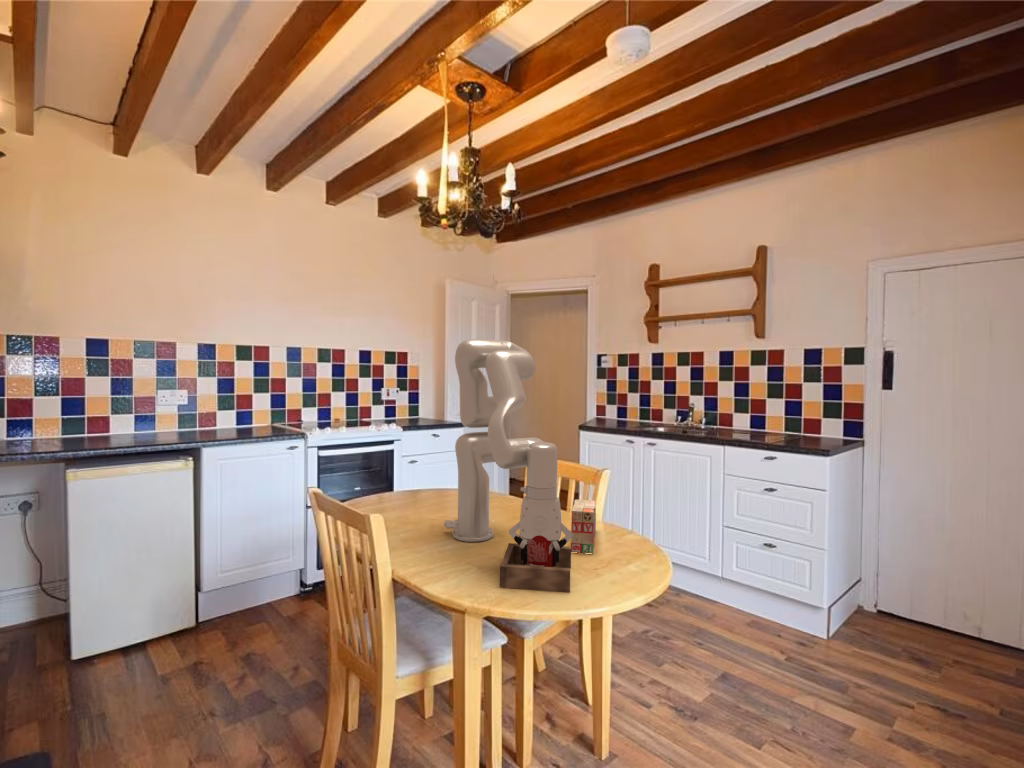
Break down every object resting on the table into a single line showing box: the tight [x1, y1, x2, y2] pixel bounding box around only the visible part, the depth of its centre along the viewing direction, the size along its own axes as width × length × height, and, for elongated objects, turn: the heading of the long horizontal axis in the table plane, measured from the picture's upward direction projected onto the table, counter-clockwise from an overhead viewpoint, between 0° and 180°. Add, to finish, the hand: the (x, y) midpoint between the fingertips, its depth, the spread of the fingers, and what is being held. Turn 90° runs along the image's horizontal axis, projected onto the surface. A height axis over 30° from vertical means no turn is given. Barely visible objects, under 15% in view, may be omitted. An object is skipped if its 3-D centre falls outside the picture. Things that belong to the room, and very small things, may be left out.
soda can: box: [526, 532, 554, 567], centre depth 128 cm, size 7×7×12 cm
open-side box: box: [499, 542, 572, 593], centre depth 128 cm, size 16×16×5 cm
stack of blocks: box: [570, 499, 597, 555], centre depth 154 cm, size 21×6×12 cm, turn 169°
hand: (539, 563), depth 128 cm, fingers closed on soda can, 6 cm apart
